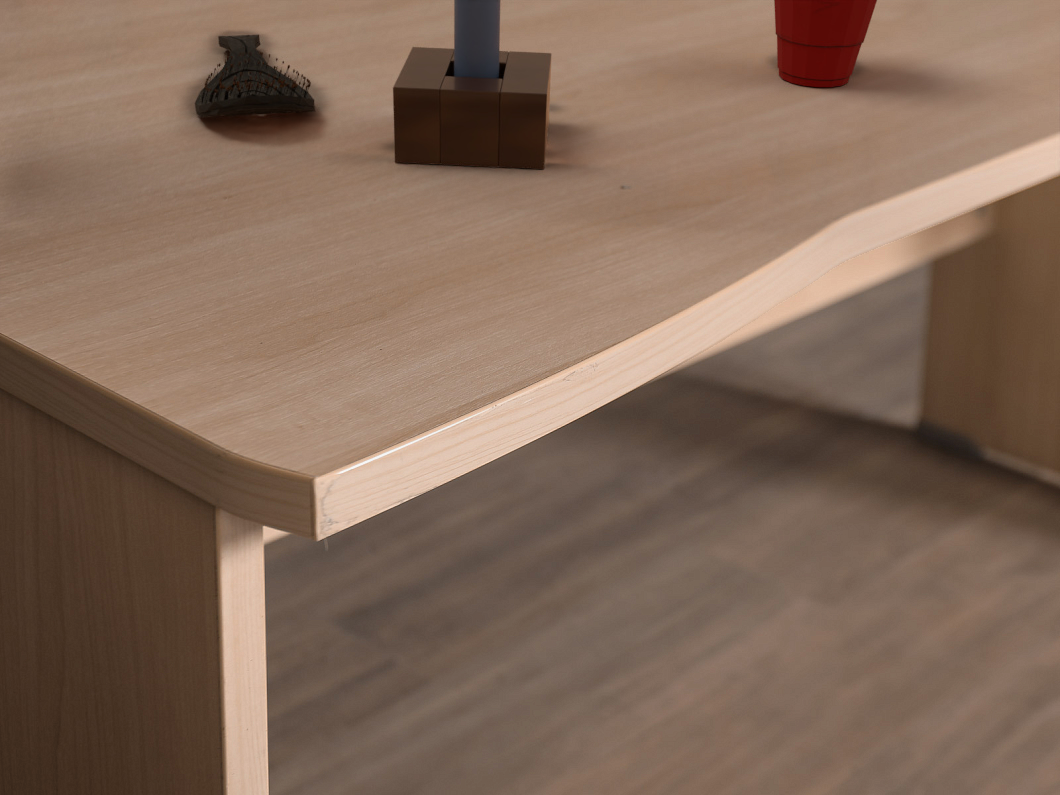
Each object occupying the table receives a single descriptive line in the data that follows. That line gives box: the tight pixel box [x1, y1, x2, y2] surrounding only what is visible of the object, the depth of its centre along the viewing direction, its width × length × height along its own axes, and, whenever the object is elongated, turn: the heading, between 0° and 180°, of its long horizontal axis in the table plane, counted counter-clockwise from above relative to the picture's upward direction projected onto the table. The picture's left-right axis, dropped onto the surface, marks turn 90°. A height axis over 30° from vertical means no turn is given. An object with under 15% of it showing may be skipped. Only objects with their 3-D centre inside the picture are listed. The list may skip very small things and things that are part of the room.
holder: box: [392, 46, 552, 170], centre depth 83 cm, size 10×10×5 cm
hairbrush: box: [194, 34, 316, 119], centre depth 92 cm, size 8×4×25 cm
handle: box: [453, 0, 501, 79], centre depth 82 cm, size 3×3×11 cm
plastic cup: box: [773, 0, 878, 88], centre depth 98 cm, size 11×11×12 cm
